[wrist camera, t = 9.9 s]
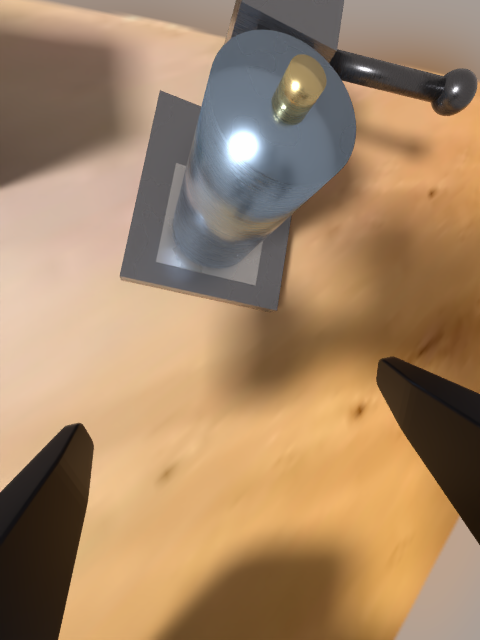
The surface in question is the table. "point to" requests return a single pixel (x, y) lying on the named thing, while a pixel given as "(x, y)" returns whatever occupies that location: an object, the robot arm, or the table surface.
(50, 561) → the robot arm
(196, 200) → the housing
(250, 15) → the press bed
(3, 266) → the table surface
